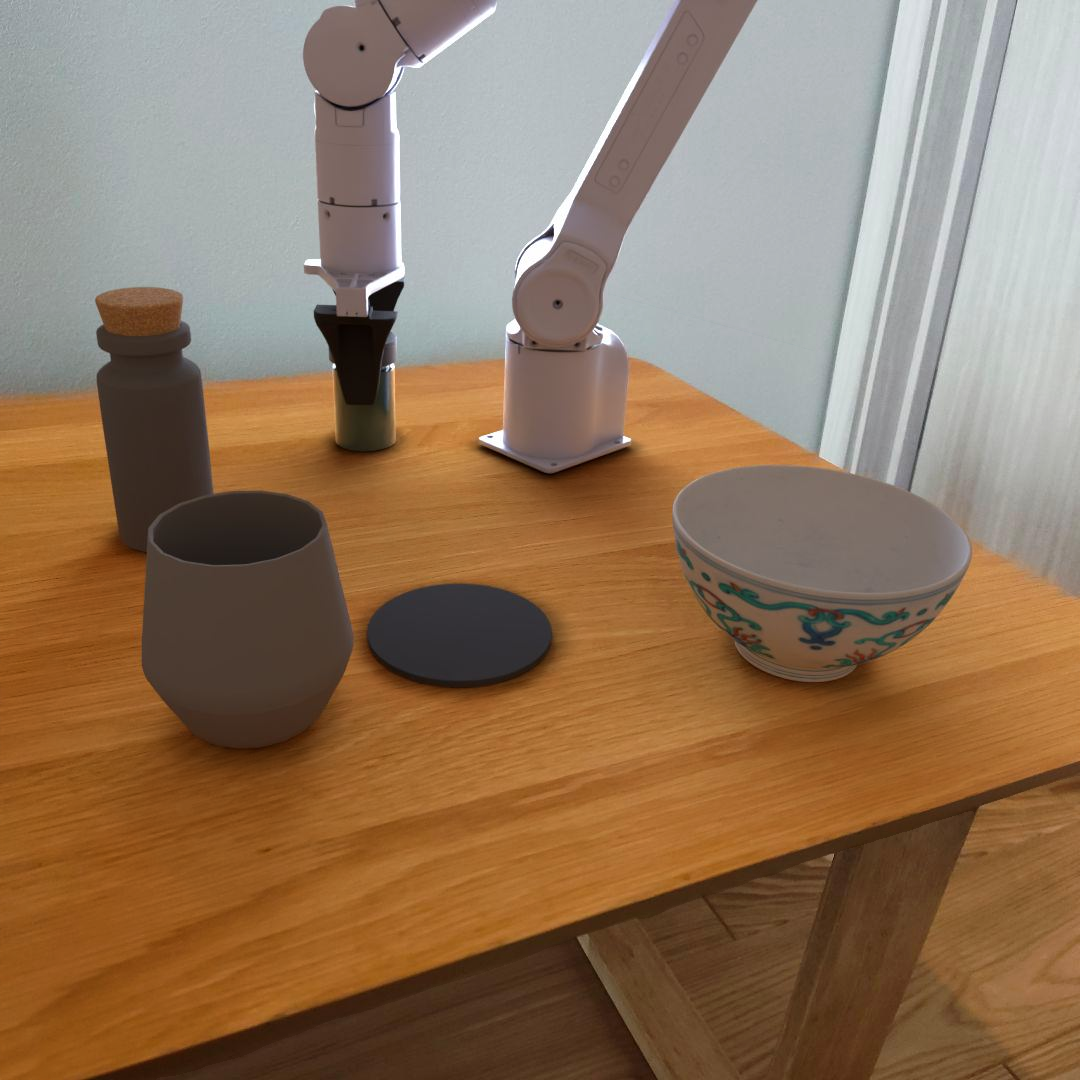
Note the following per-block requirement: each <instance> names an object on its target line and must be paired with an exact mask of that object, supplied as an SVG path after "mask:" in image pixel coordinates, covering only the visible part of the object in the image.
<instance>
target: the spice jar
mask: <svg viewBox="0 0 1080 1080" xmlns="http://www.w3.org/2000/svg"><path fill="white" fill-rule="evenodd" d="M331 370H332V391H333V392H332V393H333V415H334V416H333V417H334V435H335V436H334V437H335V443H336V444H337V445H338V446H339V447H341V448H343V449H344V450H345V449H346V450H349V451H354V452H375V451H382V450H386V449H387V448H390V447H391V446H393V445H394V444H395V443H396V439H397V438H396V437H397V436H396V430H397V429H396V383H395V382H396V379H395V378H396V376H395V375H396V374H395V373H396V372H395V363H393V364H391V365H388V366H385V367H381V372H380V380H379V387H378V392H377V396H376V400H375V403H374V405H347V404H346V403H345V400H344V397H343V394H342V391H341V387H340V383H339V379H338V375H337V371H336V367H335V364H333V363H332V367H331Z"/></svg>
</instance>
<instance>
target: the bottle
mask: <svg viewBox="0 0 1080 1080" xmlns="http://www.w3.org/2000/svg"><path fill="white" fill-rule="evenodd" d="M94 299H95V300H94V302H95V305H96V307H97V310H98V311H97V312H98V313H99V317H100V319H101V322H102V324H101V325H100V326H98V328H96V331H95V332H96V341H97V347H98V348H99V349H100V350H101V351H104V352H105V353H107V354H109V357H110V361H108V362H107V363H105V364H103V365H102V367H101V368H100V369H99V370H98V372H97V373H96V386H97V387H96V388H97V394H98V402H99V409H100V417H101V424H102V430H103V437H104V438H103V439H104V444H105V449H106V450H105V451H106V456H107V463H108V471H109V477H110V483H111V489H112V497H113V503H114V509H115V516H116V523H117V529H118V532H119V533H118V534H119V538H120V542H122V543H123V544H124V546H126V547H128V548H130V549H131V550H134V551H138V552H142V553H147V539H148V528H149V527H150V525H151V524H152V523H153V522H154V520H155V519H156V518H157V517H158V516H159V515H160V514H162V513H163V512H165V511H167V510H169V509H170V508H172V507H174V506H175V505H177V504H179V503H182V502H185V501H188V500H192V499H195V498H198V497H201V496H204V495H210V494H215V493H214V483H213V474H212V472H213V471H212V463H211V454H210V443H209V433H208V424H207V414H206V413H207V412H206V404H205V395H204V385H203V379H202V372H201V368H200V367H199V366H198V365H197V364H196V362H194V361H193V360H191V359H189V358H187V357H185V356H184V353H183V349H185V348H187V347H189V346H190V345H191V342H192V333H191V327H190V325H189V324H188V323H187V322H186V321H183V320H182V314H183V313H182V312H183V305H184V295H183V294H182V293H181V292H180V291H177V290H175V289H171V288H165V287H155V286H135V287H133V286H132V287H124V288H117V289H111V290H107V291H105V292H102V293H99V294H98V295H96V297H95V298H94Z"/></svg>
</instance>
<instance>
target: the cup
mask: <svg viewBox="0 0 1080 1080" xmlns="http://www.w3.org/2000/svg"><path fill="white" fill-rule="evenodd" d="M335 555H336V554H335V551H334V547H333V544H332V538H331V535H330V530H329V526H328V523H327V520H326V516H325V514H324V511H323V510H321V509H320V508H319V507H317V506H316V505H314V504H313V503H312V502H311V501H309V500H306V499H303V498H301V497H298V496H295V495H292V494H289V493H283V492H275V491H268V490H230V491H224V492H218V493H214V494H210V495H204V496H201V497H198V498H195V499H192V500H188V501H185V502H182V503H179V504H177V505H175V506H174V507H172V508H170V509H169V510H167V511H165V512H163V513H162V514H160V515H159V516H158V517H157V518H156V519H155V520H154V522H153V523H152V524H151V525H150V527H149V528H148V539H147V552H146V557H145V559H146V560H145V576H144V591H143V592H144V593H143V608H142V609H143V610H142V611H143V612H142V627H141V628H142V629H141V669H142V672H143V674H144V677H145V679H146V681H147V682H148V684H150V686H151V687H152V688H153V690H154V691H155V692H156V693H157V695H158V696H159V697H160V699H161V700H162V701H163V703H164V704H165V705H166V706H167V707H168V708H169V709H170V710H171V711H172V712H173V714H174V715H175V716H176V717H177V718H178V719H179V720H180V721H181V723H182V724H183V725H184V726H185V727H186V728H187V729H188V730H189V731H190V732H191V733H192V734H193V736H195V737H197V738H198V739H199V738H200V739H202V740H204V741H205V742H207V743H209V744H211V745H215V746H220V747H224V748H231V749H236V750H240V749H241V750H242V749H260V748H261V749H262V748H266V747H269V746H272V745H277V744H281V743H284V742H286V741H288V740H290V739H292V738H294V737H296V736H297V735H299V734H301V733H303V732H305V731H307V730H308V729H309V728H310V727H311V726H312V725H313V724H314V723H315V722H316V721H317V720H318V719H319V718H320V717H321V715H322V714H323V712H324V711H325V709H326V707H327V705H328V704H329V702H330V700H331V698H332V696H333V695H334V693H335V691H336V690H337V687H338V686H339V684H340V682H341V680H342V679H343V676H344V675H345V672H346V671H347V667H348V664H349V661H350V658H351V656H352V653H353V649H354V643H355V642H354V641H355V637H354V629H353V626H352V622H351V618H350V614H349V610H348V609H349V608H348V606H347V605H348V604H347V601H346V598H345V597H346V596H345V593H344V592H345V591H344V588H343V584H342V581H341V576H340V573H339V567H338V563H337V559H336V556H335Z"/></svg>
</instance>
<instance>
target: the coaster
mask: <svg viewBox="0 0 1080 1080" xmlns="http://www.w3.org/2000/svg"><path fill="white" fill-rule="evenodd" d="M366 639H367V641H366V642H367V646H368V648H369V650H370V653H371V654H372V656H373V657H374V658H375V659H376V661H378V663H380V664H381V665H382V666H383V667H384V668H386V669H387V670H389V671H391V672H392V673H394V674H395V675H398V676H400V677H402V678H405V679H408V680H411V681H413V682H416V683H421V684H424V685H428V686H429V685H430V686H437V687H444V688H476V687H484V686H491V685H495V684H499V683H503V682H506V681H509V680H512V679H515V678H517V677H520V676H522V675H524V674H525V673H527V672H529V671H531V670H533V669H534V668H535V667H536V666H538V665H539V664H540V663H541V662H542V661H543V660H544V658H546V656H547V654H548V653H549V651H550V648H551V646H552V639H553V631H552V625H551V623H550V619H549V618H548V617H547V615H546V613H545V612H544V611H543V610H542V609H541V608H540V607H539V606H537V605H536V604H535V603H534V602H532V601H531V600H529V599H527V598H526V597H523V596H521V595H519V594H517V593H514V592H512V591H509V590H506V589H503V588H499V587H495V586H490V585H483V584H477V583H475V584H474V583H442V584H433V585H428V586H423V587H422V586H421V587H420V588H415V589H411V590H408V591H406V592H404V593H403V592H402V593H401V594H399V595H397V596H394V597H393V598H391V599H389V600H388V601H386V602H384V603H383V604H382V605H381V606H379V608H377V610H376V611H375V612H374V613H373V614H372V616H371V617H370V619H369V621H368V624H367V628H366Z"/></svg>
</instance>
